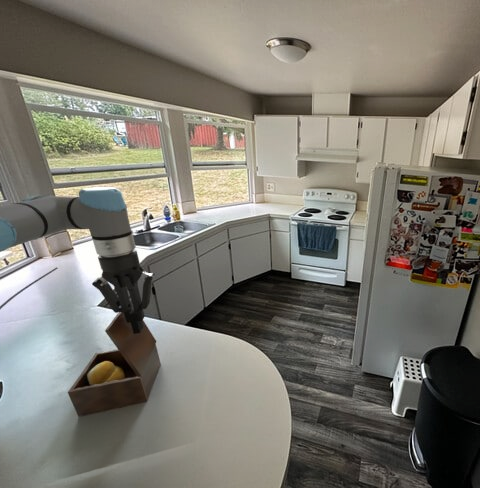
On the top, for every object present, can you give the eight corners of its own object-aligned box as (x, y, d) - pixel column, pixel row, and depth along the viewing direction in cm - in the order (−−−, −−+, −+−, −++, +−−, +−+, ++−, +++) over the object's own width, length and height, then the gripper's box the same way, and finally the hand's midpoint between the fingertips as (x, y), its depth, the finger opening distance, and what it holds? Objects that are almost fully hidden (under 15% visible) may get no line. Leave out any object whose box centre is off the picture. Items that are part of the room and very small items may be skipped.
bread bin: (78, 416, 66) (67, 392, 62) (103, 375, 78) (95, 353, 75) (147, 401, 70) (140, 378, 67) (160, 364, 82) (155, 343, 79)
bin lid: (104, 330, 60) (108, 329, 60) (127, 300, 72) (130, 299, 72) (138, 377, 67) (141, 376, 67) (153, 342, 79) (156, 341, 79)
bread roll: (109, 399, 69) (120, 390, 69) (79, 381, 66) (91, 371, 66) (125, 377, 77) (135, 369, 77) (99, 360, 74) (109, 352, 74)
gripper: (75, 260, 56) (103, 344, 64) (143, 255, 60) (161, 335, 68) (93, 248, 63) (116, 325, 71) (152, 244, 66) (168, 318, 75)
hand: (138, 330), depth 69 cm, fingers closed
